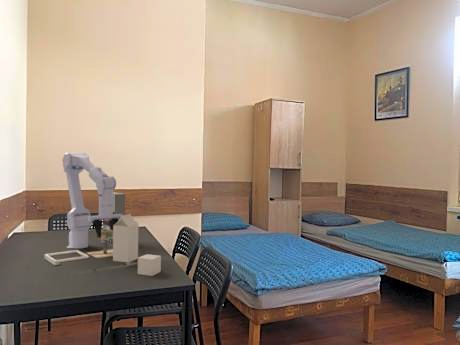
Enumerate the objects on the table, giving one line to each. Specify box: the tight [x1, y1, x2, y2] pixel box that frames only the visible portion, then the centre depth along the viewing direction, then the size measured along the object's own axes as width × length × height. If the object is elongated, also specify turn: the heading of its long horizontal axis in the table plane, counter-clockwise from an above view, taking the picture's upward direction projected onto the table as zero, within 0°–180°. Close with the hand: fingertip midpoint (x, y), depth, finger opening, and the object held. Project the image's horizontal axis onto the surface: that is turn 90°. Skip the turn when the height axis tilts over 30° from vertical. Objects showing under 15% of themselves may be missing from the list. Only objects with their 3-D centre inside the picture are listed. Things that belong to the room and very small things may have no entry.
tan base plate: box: [85, 242, 113, 259], centre depth 164 cm, size 12×12×6 cm
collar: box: [96, 229, 113, 240], centre depth 163 cm, size 7×5×3 cm
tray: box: [43, 249, 90, 266], centre depth 156 cm, size 13×13×2 cm
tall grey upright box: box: [100, 191, 126, 246], centre depth 186 cm, size 14×6×25 cm, turn 41°
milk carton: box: [112, 213, 139, 265], centre depth 154 cm, size 7×7×19 cm
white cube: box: [137, 253, 162, 277], centre depth 140 cm, size 6×6×6 cm
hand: (105, 236), depth 164 cm, fingers closed on collar, 5 cm apart
